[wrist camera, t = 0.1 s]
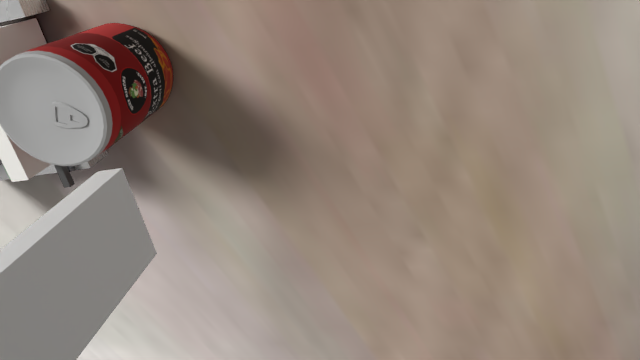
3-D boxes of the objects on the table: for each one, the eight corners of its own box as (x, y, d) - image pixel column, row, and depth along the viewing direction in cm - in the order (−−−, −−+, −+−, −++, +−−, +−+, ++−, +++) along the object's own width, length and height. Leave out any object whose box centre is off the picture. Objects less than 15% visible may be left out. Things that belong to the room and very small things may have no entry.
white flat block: (20, 21, 42) (-59, 42, 35) (36, 17, 42) (-41, 38, 35) (84, 168, 47) (27, 212, 40) (98, 166, 47) (43, 210, 40)
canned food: (185, 111, 44) (120, 166, 34) (99, 114, 45) (13, 168, 35) (165, 17, 40) (87, 48, 31) (72, 24, 42) (-30, 56, 32)
